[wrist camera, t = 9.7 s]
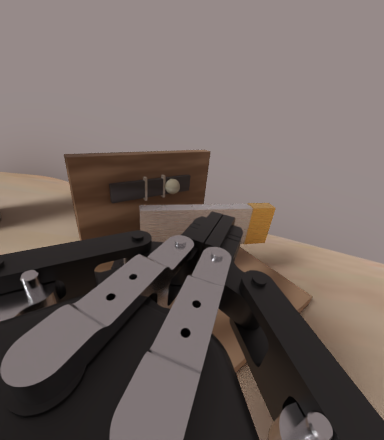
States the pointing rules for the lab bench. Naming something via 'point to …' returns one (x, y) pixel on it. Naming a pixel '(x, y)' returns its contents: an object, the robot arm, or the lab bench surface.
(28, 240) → the lab bench surface
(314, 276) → the lab bench surface
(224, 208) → the cam foot
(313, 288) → the lab bench surface
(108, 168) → the levelling base
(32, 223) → the lab bench surface
